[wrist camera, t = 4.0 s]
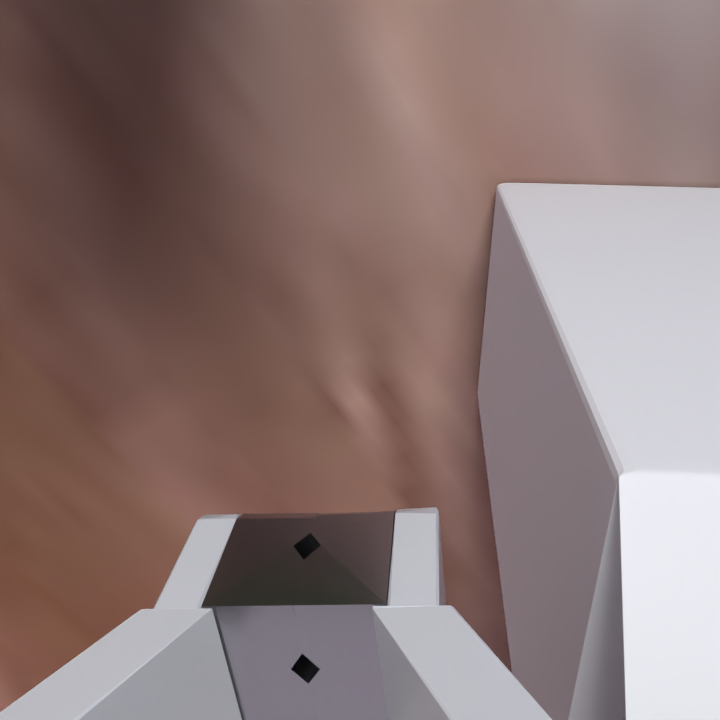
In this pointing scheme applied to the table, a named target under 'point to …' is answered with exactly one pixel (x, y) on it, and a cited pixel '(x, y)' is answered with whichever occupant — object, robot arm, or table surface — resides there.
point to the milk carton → (606, 445)
